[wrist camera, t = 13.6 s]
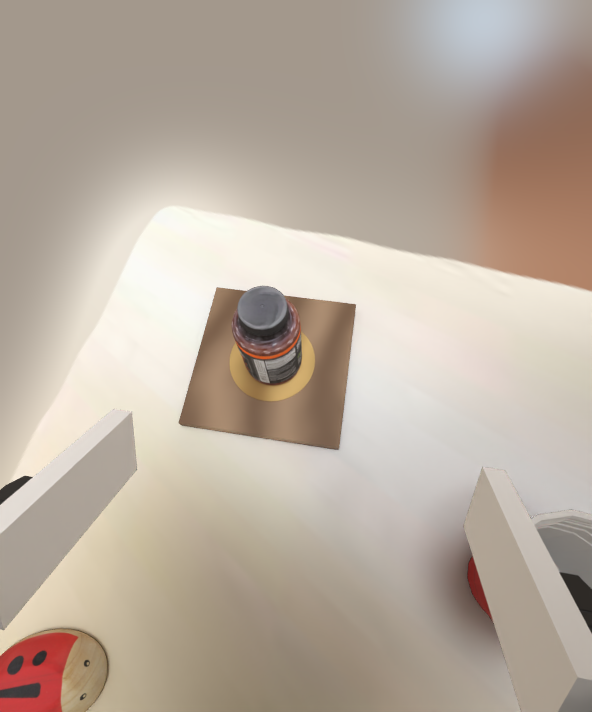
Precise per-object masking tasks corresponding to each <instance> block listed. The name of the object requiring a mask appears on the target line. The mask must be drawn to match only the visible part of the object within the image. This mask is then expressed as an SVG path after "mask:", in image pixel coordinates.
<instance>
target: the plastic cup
mask: <svg viewBox="0 0 592 712" xmlns="http://www.w3.org/2000/svg"><path fill="white" fill-rule="evenodd" d="M531 520H532V522H533V524H534V526H535V528H536V529H537V531H538V533H539V535H540V537H541V539H542V541H543V543H544V545H545V546H546V548H547V550H548V552H549V554H550V556H551V558H552V560H553V562H554V563H555V565H556V567H557V569H558V571H559V572H563V573H568V574H574V575H578V576H579V577H580V578H581V579H582V580H583V581H584V582H585V583H586V584H587V585H588V586H589V587H590V588H591V589H592V514H588V513H584V512H580V511H576V510H572V509H570V510H564V511H558V512H551V513H545V514H538V515H536V516H535V517H533V518H532V519H531ZM467 578H468V581H469V585H470V588H471V592H472V594H473V596H474V597H475V599H476V600H477V602H478V603H479V605H480V606H481V608H482V609H483V610H484V611H485V612H486V613H487V614H488V615H489V617H490V618H491V620H492V621H493V619H492V616H491V613H490V610H489V606H488V603H487V600H486V597H485V594H484V590H483V587H482V584H481V581H480V578H479V574H478V571H477V568H476V565H475V562H474V558H473V556H472V558H471V559H470V561H469V563H468V576H467Z"/></svg>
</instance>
